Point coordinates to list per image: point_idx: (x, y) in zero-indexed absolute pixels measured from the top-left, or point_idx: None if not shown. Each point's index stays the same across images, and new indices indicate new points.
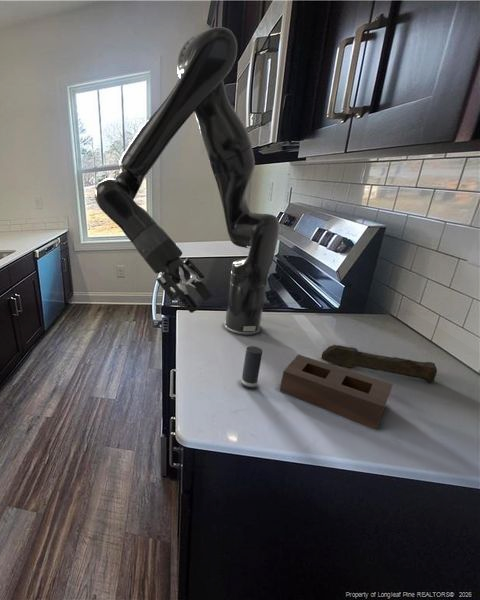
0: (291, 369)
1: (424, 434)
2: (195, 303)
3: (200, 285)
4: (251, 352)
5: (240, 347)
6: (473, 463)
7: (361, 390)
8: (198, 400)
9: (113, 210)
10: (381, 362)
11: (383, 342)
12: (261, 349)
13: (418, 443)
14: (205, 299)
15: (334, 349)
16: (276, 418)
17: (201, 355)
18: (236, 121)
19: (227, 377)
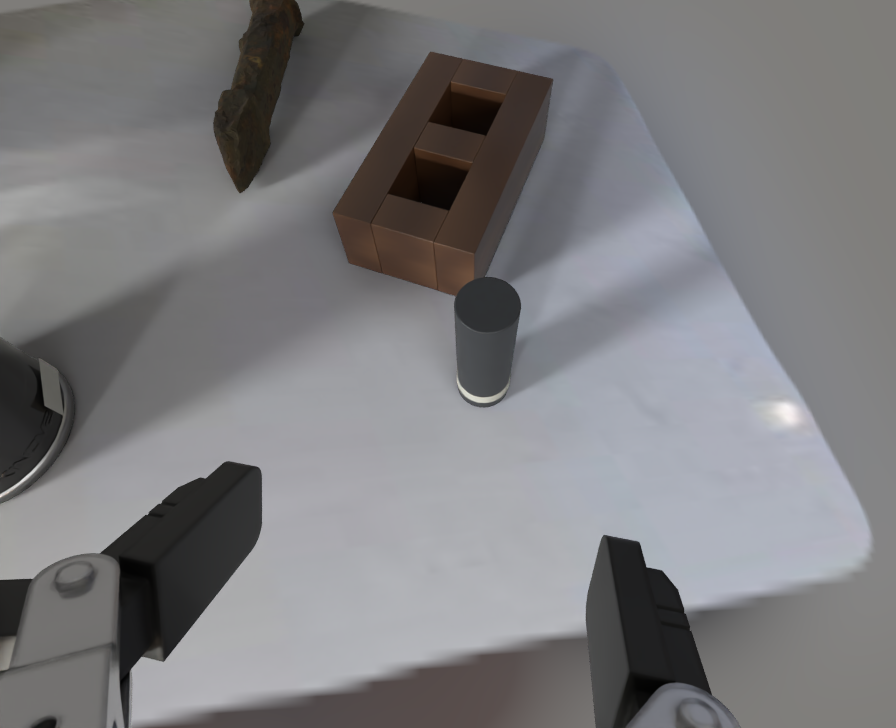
0: (453, 233)
1: None
2: (636, 568)
3: (164, 584)
4: (518, 313)
5: (196, 425)
6: (567, 45)
7: (445, 120)
8: (666, 541)
9: None
10: (272, 68)
11: (91, 66)
12: (473, 280)
13: (552, 92)
14: (256, 531)
15: (239, 135)
16: (621, 311)
17: (313, 584)
18: None
19: (459, 455)
